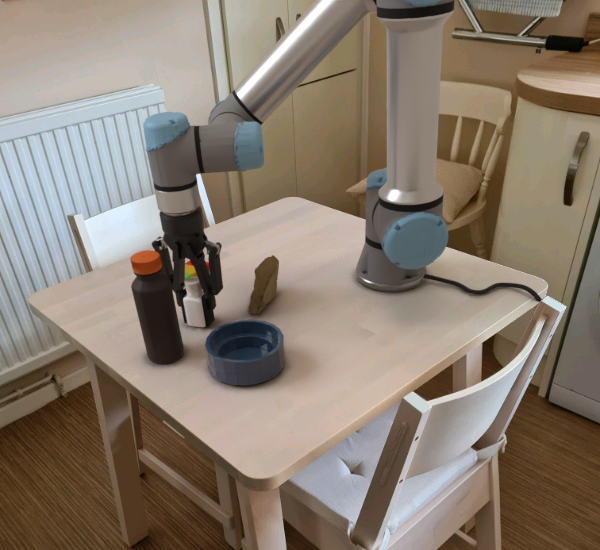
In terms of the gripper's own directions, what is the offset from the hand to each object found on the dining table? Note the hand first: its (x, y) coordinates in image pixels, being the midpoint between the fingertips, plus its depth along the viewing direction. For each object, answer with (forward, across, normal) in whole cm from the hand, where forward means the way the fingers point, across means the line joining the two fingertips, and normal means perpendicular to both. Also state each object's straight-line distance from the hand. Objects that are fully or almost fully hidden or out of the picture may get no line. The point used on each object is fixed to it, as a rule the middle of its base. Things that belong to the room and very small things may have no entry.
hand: (199, 321), depth 124 cm
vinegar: (+1, +1, +12) cm, 12 cm away
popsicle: (+1, +12, -16) cm, 20 cm away
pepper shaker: (+1, 0, 0) cm, 1 cm away
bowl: (+1, -15, +11) cm, 19 cm away
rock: (+1, -9, -11) cm, 14 cm away
